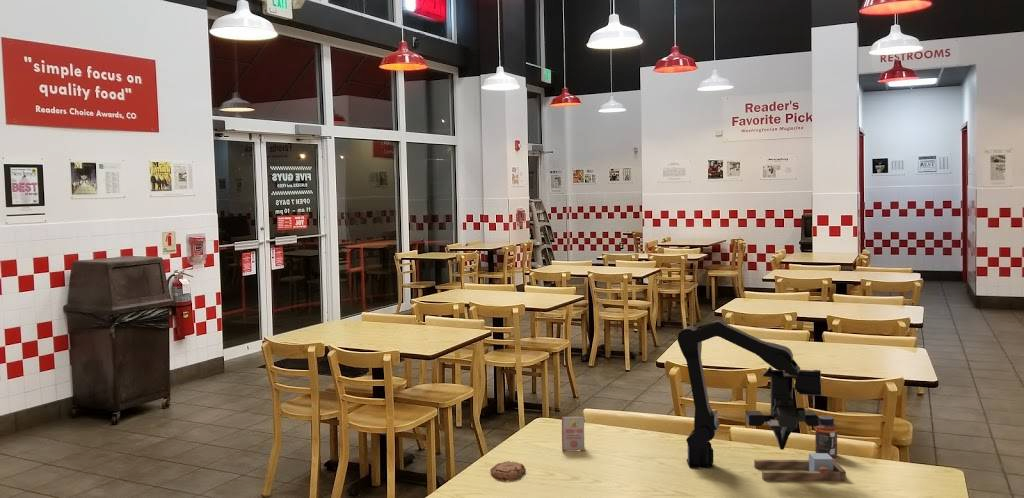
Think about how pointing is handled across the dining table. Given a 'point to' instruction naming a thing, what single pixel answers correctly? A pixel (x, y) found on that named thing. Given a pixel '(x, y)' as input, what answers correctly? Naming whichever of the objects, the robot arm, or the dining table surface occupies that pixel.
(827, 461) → the rider
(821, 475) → the channel
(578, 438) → the product box
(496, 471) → the cookie
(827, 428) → the supplement bottle
